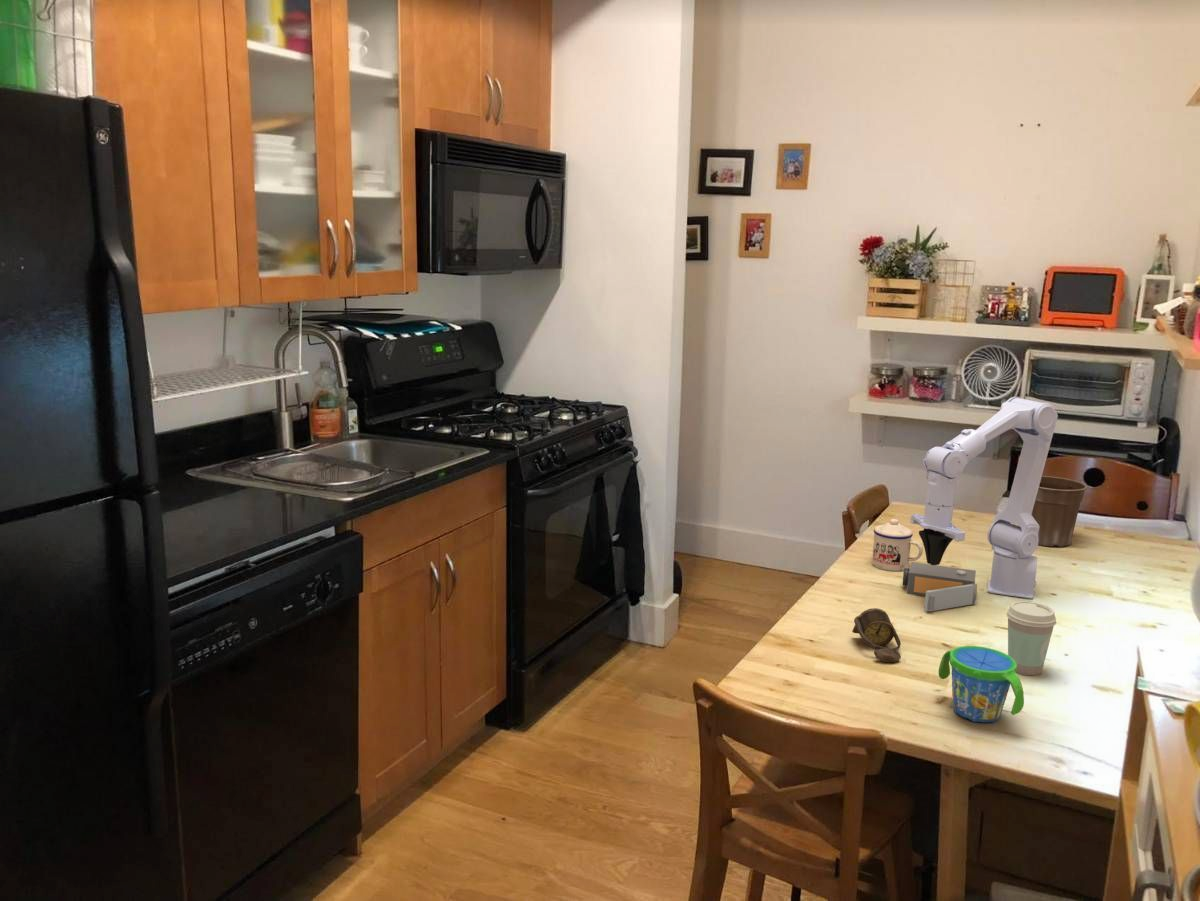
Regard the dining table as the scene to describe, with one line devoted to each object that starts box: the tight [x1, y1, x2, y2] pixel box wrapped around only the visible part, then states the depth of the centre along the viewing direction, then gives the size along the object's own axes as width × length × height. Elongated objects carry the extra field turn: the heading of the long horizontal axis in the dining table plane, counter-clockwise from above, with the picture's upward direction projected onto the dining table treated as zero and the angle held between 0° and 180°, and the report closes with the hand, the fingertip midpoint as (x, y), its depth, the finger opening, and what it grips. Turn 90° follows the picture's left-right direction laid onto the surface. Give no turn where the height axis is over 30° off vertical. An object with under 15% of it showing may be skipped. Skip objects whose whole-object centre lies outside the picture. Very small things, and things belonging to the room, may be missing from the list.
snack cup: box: [938, 645, 1025, 723], centre depth 166 cm, size 16×10×10 cm
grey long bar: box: [923, 583, 978, 612], centre depth 214 cm, size 14×2×4 cm, turn 113°
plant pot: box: [1032, 475, 1088, 548], centre depth 263 cm, size 16×16×16 cm
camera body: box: [902, 561, 977, 597], centre depth 224 cm, size 15×8×6 cm, turn 68°
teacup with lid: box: [871, 518, 924, 572], centre depth 240 cm, size 12×9×12 cm
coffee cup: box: [1005, 600, 1057, 676], centre depth 184 cm, size 8×8×12 cm
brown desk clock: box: [852, 607, 902, 663], centre depth 192 cm, size 7×13×10 cm
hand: (933, 563), depth 215 cm, fingers closed
